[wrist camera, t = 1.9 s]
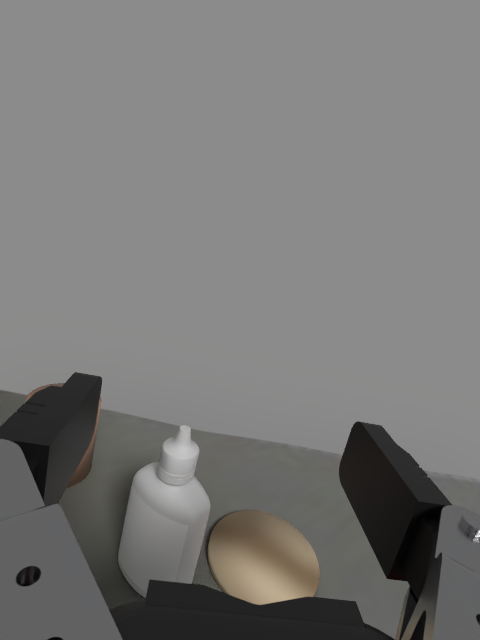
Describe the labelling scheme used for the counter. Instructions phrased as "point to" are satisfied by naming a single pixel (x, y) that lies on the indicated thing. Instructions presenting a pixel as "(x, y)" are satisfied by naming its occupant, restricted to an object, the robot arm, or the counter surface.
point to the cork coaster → (261, 558)
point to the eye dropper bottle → (165, 517)
